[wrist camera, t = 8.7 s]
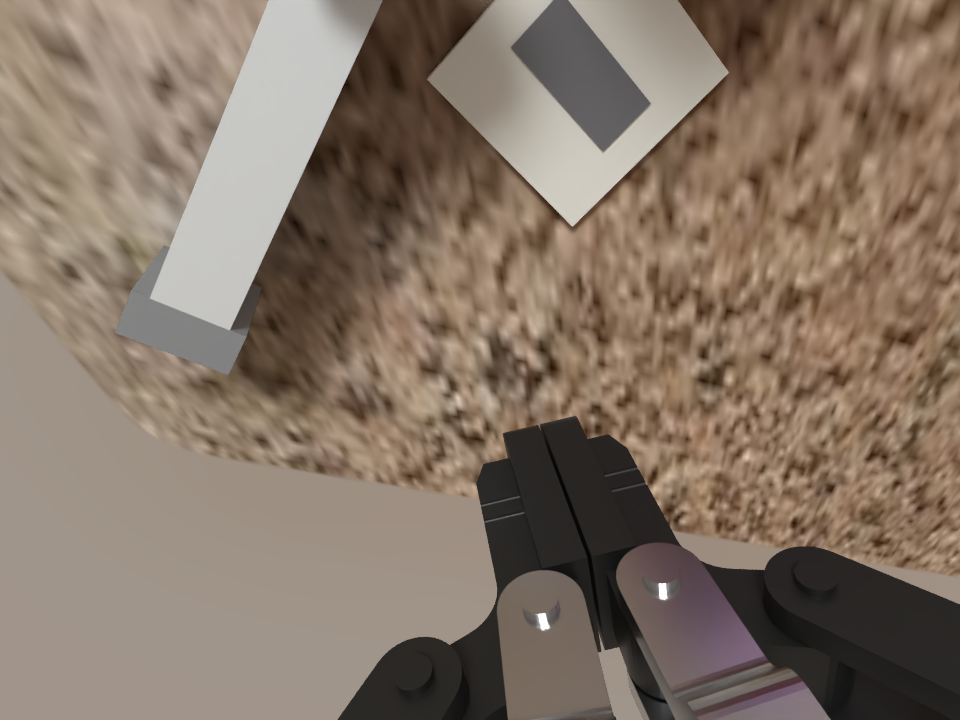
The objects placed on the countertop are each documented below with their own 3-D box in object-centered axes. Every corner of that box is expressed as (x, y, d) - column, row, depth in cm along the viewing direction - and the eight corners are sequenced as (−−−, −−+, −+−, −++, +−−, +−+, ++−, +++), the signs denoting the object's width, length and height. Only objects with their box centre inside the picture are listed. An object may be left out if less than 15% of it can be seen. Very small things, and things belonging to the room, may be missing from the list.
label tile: (724, 71, 25) (730, 72, 25) (569, 223, 27) (573, 227, 27) (592, -114, 22) (597, -115, 21) (426, 78, 24) (427, 80, 23)
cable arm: (360, -297, 17) (360, -410, 12) (500, -183, 19) (551, -242, 14) (137, 277, 24) (77, 359, 19) (256, 325, 26) (230, 413, 21)
